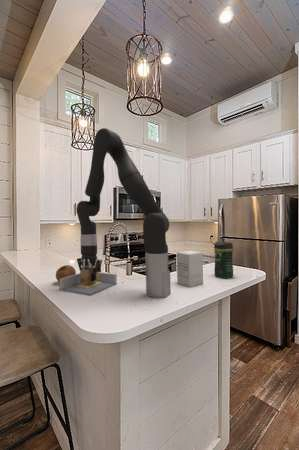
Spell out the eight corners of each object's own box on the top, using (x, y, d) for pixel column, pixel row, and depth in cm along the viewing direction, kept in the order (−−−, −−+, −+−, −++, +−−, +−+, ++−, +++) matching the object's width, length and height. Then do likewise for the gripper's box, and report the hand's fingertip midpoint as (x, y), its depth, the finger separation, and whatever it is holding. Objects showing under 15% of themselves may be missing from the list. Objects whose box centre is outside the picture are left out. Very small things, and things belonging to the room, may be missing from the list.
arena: (116, 284, 111) (116, 274, 111) (90, 295, 95) (90, 283, 95) (88, 280, 120) (87, 270, 120) (59, 290, 104) (59, 278, 104)
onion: (64, 291, 112) (60, 274, 107) (54, 283, 118) (49, 267, 113) (81, 280, 119) (77, 264, 114) (70, 273, 124) (66, 257, 119)
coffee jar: (236, 277, 120) (235, 241, 119) (223, 279, 117) (222, 242, 117) (224, 273, 129) (223, 240, 129) (211, 275, 126) (211, 241, 126)
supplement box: (190, 280, 117) (190, 250, 117) (203, 284, 110) (203, 252, 109) (176, 283, 112) (176, 251, 112) (189, 287, 105) (188, 254, 104)
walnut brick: (87, 284, 105) (86, 270, 105) (80, 283, 107) (80, 270, 107) (98, 279, 112) (98, 267, 112) (92, 279, 114) (92, 266, 114)
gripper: (71, 244, 109) (72, 280, 109) (95, 245, 102) (96, 284, 103) (83, 242, 116) (84, 277, 116) (106, 243, 109) (106, 280, 109)
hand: (89, 280), depth 109 cm, fingers closed on walnut brick, 4 cm apart
